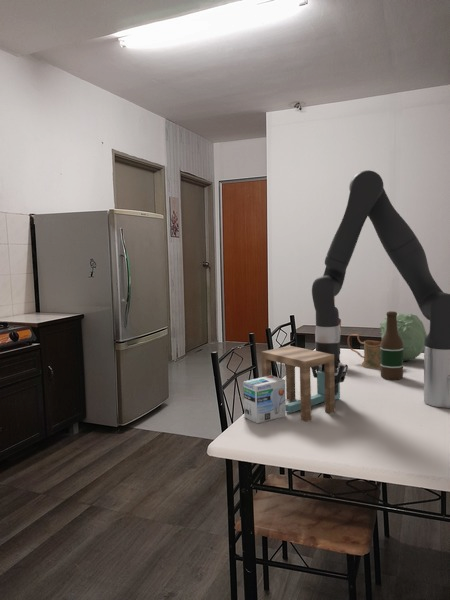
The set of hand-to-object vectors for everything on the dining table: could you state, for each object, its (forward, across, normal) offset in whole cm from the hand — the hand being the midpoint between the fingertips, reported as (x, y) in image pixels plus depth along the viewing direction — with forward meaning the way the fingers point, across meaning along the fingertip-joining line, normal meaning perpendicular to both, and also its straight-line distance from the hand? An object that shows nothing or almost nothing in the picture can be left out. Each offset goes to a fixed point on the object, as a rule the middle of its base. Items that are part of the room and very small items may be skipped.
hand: (328, 393), depth 147 cm
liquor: (+2, -27, +34) cm, 43 cm away
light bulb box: (+2, -2, -25) cm, 25 cm away
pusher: (+2, 0, -8) cm, 8 cm away
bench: (+2, -1, -13) cm, 13 cm away
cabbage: (+3, -13, +62) cm, 63 cm away
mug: (+2, -18, +46) cm, 49 cm away
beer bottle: (+2, -1, +36) cm, 36 cm away
